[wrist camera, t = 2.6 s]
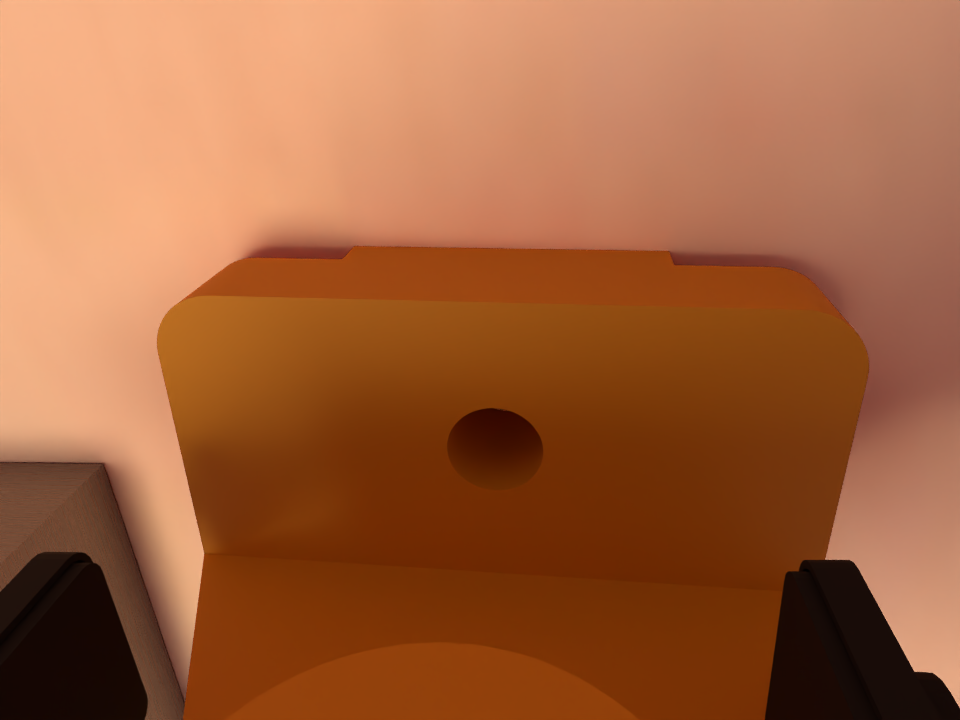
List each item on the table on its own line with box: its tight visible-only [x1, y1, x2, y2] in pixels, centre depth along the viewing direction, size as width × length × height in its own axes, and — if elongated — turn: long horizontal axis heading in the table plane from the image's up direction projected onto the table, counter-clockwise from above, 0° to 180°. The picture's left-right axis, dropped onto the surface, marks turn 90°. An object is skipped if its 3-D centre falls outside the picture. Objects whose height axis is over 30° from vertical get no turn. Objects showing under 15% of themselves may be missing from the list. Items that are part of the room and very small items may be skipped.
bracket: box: [157, 246, 869, 720], centre depth 9 cm, size 11×7×12 cm, turn 91°
